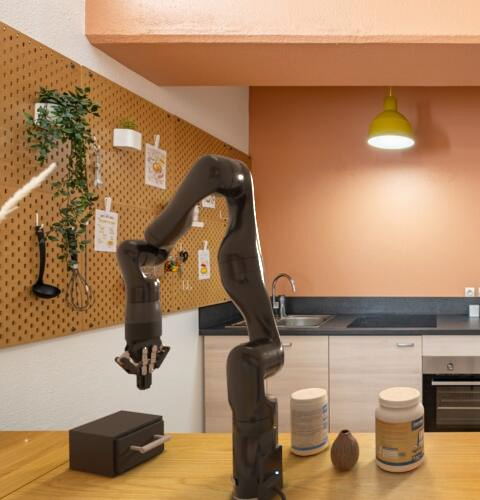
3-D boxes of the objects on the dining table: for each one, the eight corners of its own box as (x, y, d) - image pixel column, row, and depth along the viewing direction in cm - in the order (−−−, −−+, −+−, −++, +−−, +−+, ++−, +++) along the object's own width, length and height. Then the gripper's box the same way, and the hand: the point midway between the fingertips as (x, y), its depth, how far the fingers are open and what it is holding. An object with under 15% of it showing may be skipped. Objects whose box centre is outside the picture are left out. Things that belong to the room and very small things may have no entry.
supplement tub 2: (423, 474, 95) (423, 402, 95) (371, 475, 95) (371, 403, 95) (425, 448, 107) (424, 385, 107) (379, 449, 107) (378, 385, 107)
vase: (364, 461, 101) (364, 426, 101) (351, 476, 94) (350, 439, 94) (339, 458, 103) (339, 423, 103) (324, 472, 96) (324, 435, 96)
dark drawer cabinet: (163, 451, 107) (162, 415, 107) (113, 477, 95) (112, 437, 95) (122, 444, 111) (121, 410, 111) (69, 469, 99) (68, 429, 99)
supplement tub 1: (332, 450, 107) (332, 395, 107) (295, 461, 102) (295, 402, 102) (321, 436, 115) (321, 384, 115) (286, 445, 110) (286, 391, 110)
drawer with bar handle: (179, 452, 105) (178, 422, 105) (135, 476, 94) (134, 442, 94) (126, 443, 110) (125, 415, 110) (78, 465, 99) (78, 433, 99)
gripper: (127, 324, 93) (128, 400, 93) (179, 315, 106) (180, 381, 106) (103, 323, 95) (104, 397, 95) (157, 314, 108) (157, 379, 108)
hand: (144, 388), depth 100 cm, fingers closed
